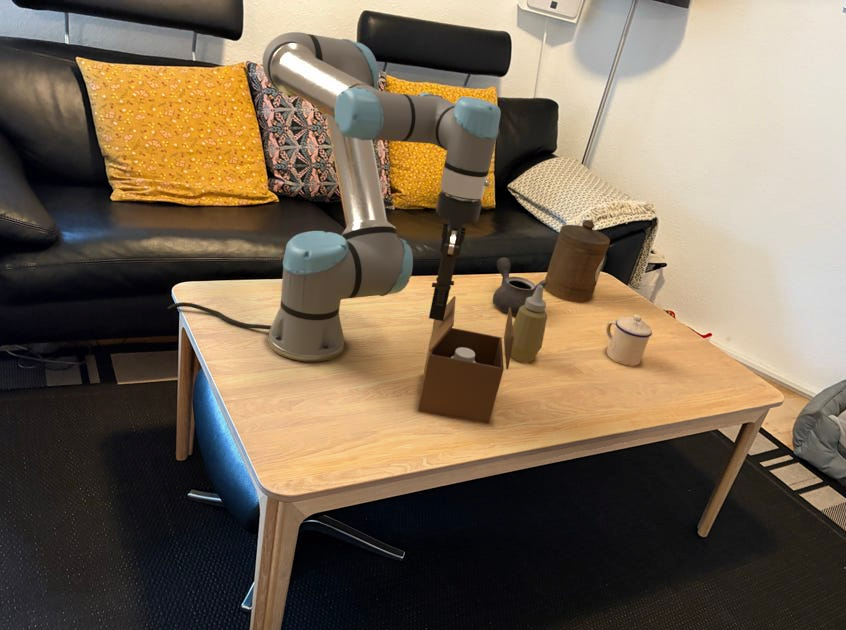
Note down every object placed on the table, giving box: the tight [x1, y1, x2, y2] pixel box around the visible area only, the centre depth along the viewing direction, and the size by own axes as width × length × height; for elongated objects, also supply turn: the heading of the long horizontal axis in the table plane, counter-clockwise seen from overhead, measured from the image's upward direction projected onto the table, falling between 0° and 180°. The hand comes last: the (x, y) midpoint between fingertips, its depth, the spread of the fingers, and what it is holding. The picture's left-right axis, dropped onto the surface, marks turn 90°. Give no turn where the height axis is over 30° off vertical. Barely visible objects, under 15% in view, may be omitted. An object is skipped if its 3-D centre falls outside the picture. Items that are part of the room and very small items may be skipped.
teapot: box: [492, 257, 547, 316], centre depth 181 cm, size 19×15×10 cm
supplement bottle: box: [451, 347, 476, 363], centre depth 133 cm, size 6×6×10 cm
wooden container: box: [544, 219, 611, 303], centre depth 195 cm, size 15×15×22 cm
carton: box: [417, 307, 514, 425], centre depth 130 cm, size 15×13×19 cm
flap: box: [429, 295, 457, 352], centre depth 127 cm, size 7×13×1 cm
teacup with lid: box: [605, 314, 653, 367], centre depth 167 cm, size 12×9×12 cm
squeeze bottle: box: [510, 285, 548, 363], centre depth 153 cm, size 8×8×18 cm
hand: (436, 317), depth 126 cm, fingers closed
